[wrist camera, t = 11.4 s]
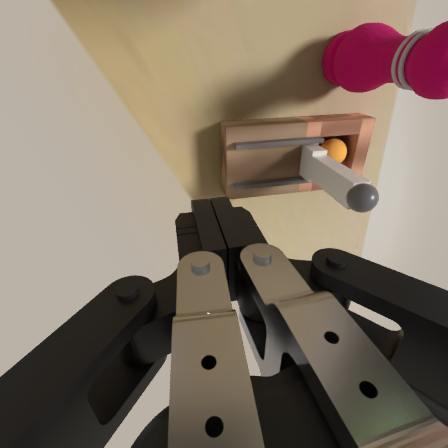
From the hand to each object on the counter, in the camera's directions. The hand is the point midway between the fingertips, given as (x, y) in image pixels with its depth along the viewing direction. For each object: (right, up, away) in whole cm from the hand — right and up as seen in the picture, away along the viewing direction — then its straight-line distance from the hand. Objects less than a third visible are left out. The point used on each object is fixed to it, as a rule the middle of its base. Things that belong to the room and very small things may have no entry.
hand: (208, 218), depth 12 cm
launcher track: (+10, +11, +31) cm, 34 cm away
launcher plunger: (+12, +9, +27) cm, 31 cm away
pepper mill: (+17, +22, +25) cm, 38 cm away
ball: (+17, +11, +30) cm, 36 cm away
